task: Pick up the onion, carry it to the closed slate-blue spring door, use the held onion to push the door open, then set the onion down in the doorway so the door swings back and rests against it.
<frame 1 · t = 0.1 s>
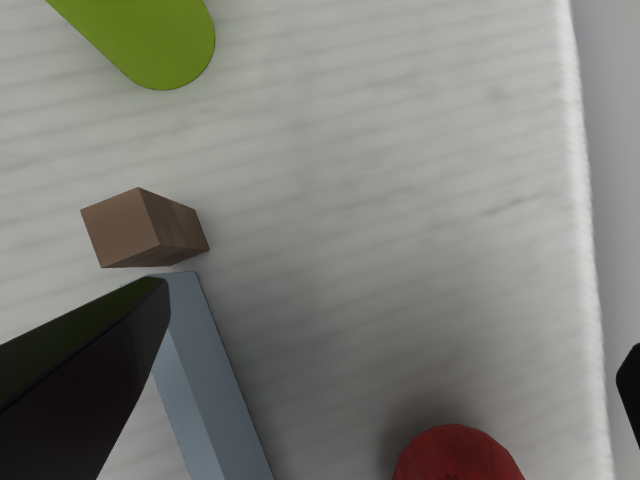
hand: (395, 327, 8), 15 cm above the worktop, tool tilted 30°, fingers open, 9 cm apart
soap dispenser: (155, 42, 24), on the worktop
onion: (436, 455, 23), on the worktop
door: (233, 468, 19), point 4 cm above the worktop, hinge at 0.0°
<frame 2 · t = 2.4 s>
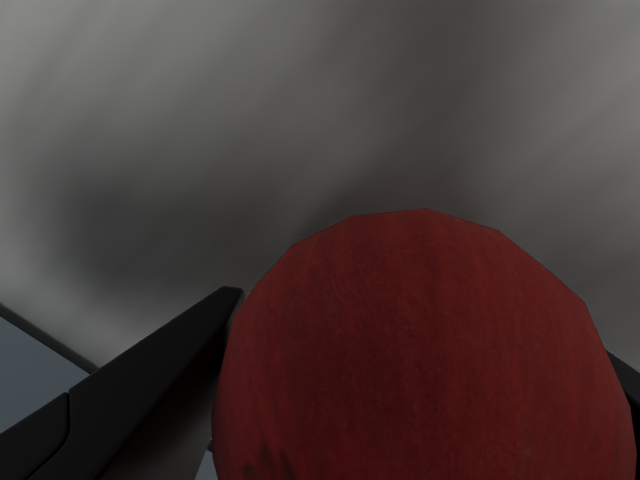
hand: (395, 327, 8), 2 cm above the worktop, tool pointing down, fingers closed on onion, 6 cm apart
onion: (387, 265, 10), on the worktop, touching gripper
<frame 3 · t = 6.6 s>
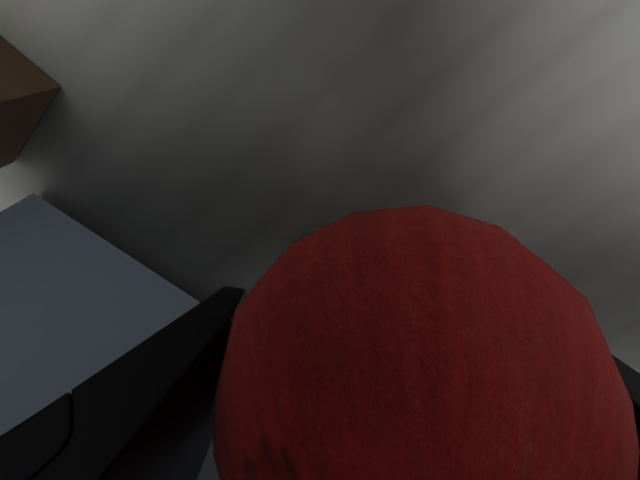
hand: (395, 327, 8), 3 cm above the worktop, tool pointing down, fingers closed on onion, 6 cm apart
onion: (388, 263, 10), on the worktop, touching gripper
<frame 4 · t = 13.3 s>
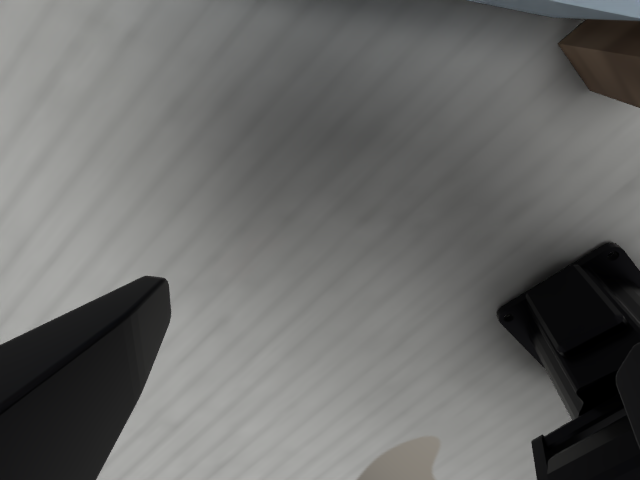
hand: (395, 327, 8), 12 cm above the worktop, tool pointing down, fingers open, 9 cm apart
door frame: (577, 3, 15), on the worktop
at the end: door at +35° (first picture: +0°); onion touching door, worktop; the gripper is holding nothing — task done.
